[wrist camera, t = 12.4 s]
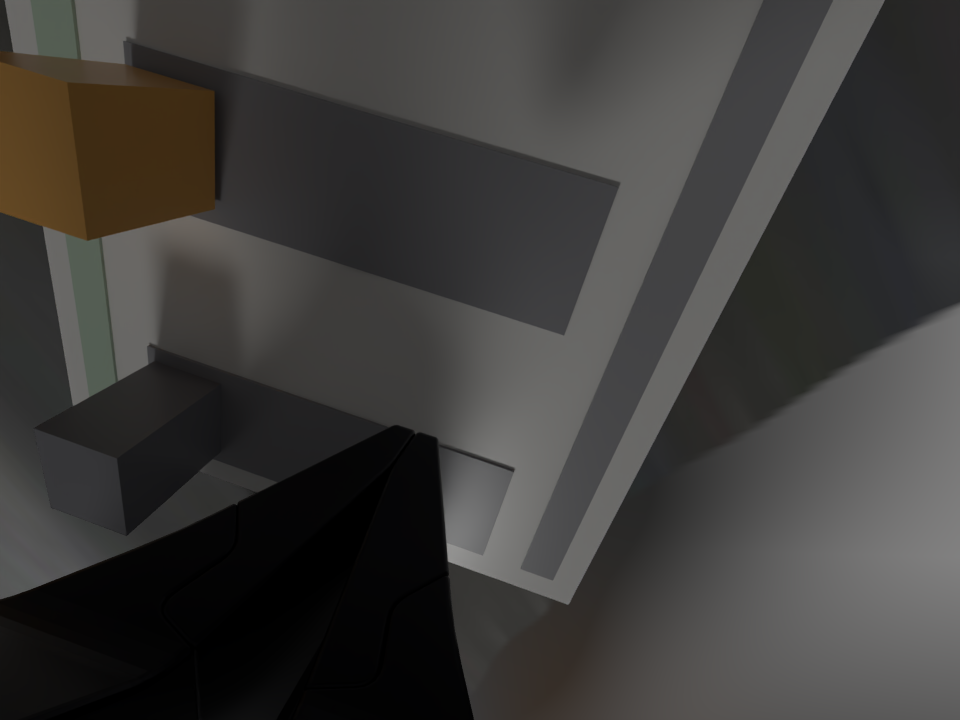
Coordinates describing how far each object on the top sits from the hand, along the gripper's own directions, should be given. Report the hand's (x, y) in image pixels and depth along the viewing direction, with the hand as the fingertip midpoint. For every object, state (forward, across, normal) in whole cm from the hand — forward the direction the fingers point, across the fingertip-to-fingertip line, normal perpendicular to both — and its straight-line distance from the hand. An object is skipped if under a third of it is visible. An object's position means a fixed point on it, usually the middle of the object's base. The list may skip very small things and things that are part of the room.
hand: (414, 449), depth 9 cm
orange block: (+6, +9, -3) cm, 11 cm away
